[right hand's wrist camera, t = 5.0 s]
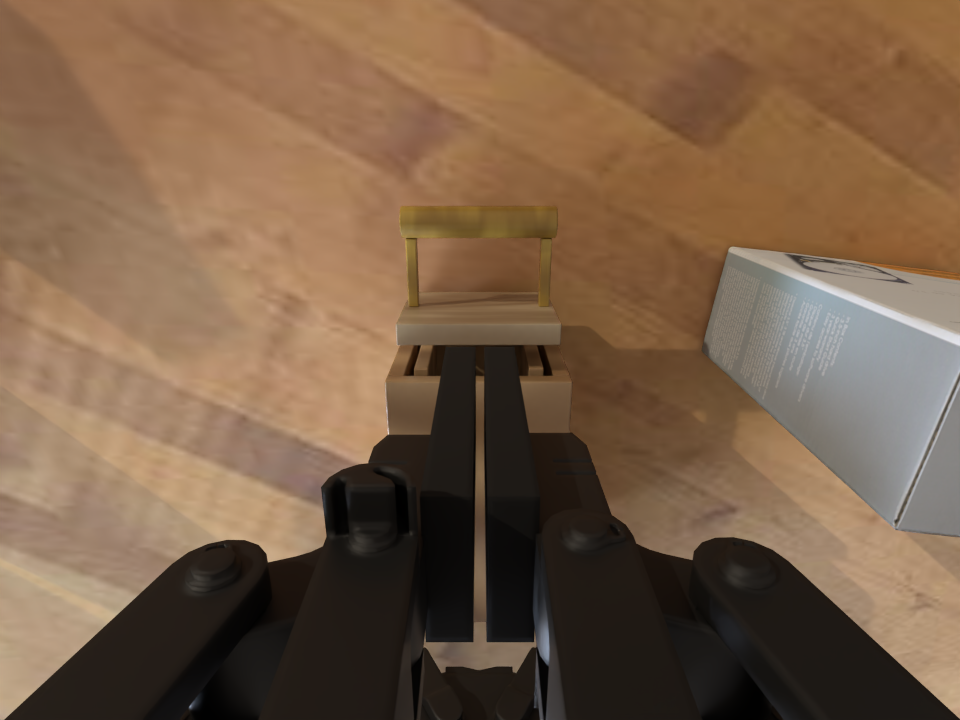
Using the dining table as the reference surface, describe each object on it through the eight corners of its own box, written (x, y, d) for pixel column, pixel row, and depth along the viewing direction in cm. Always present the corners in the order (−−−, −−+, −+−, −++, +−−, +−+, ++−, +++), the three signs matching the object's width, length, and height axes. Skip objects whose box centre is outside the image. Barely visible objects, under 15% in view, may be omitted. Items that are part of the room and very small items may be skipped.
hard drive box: (958, 269, 37) (1452, 393, 18) (913, 377, 39) (1304, 583, 21) (724, 242, 36) (986, 340, 17) (695, 354, 39) (895, 544, 20)
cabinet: (405, 330, 38) (384, 381, 30) (552, 330, 38) (573, 381, 30) (415, 530, 44) (399, 622, 36) (542, 530, 44) (558, 622, 36)
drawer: (407, 200, 35) (389, 213, 28) (550, 200, 35) (567, 212, 28) (419, 492, 42) (408, 558, 35) (538, 492, 42) (549, 558, 35)
